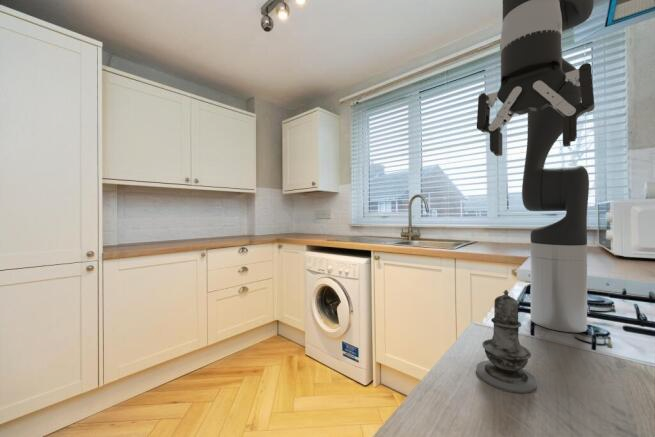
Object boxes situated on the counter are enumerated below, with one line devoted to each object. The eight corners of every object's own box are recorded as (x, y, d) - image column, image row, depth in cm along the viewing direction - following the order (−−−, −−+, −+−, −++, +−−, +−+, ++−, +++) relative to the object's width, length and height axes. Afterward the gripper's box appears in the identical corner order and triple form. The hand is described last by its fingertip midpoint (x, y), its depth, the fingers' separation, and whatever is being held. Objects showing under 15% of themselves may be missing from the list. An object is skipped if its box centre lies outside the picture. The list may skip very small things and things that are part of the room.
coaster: (484, 359, 45) (484, 355, 45) (540, 377, 40) (540, 372, 40) (469, 377, 40) (469, 373, 40) (530, 400, 35) (530, 396, 35)
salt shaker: (540, 387, 37) (541, 296, 36) (491, 383, 38) (491, 294, 38) (518, 364, 42) (518, 285, 42) (476, 360, 43) (476, 283, 43)
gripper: (595, 33, 40) (595, 146, 40) (485, 70, 50) (485, 160, 50) (593, 6, 35) (593, 136, 35) (471, 53, 45) (471, 154, 45)
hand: (529, 150), depth 43 cm, fingers open, 8 cm apart
